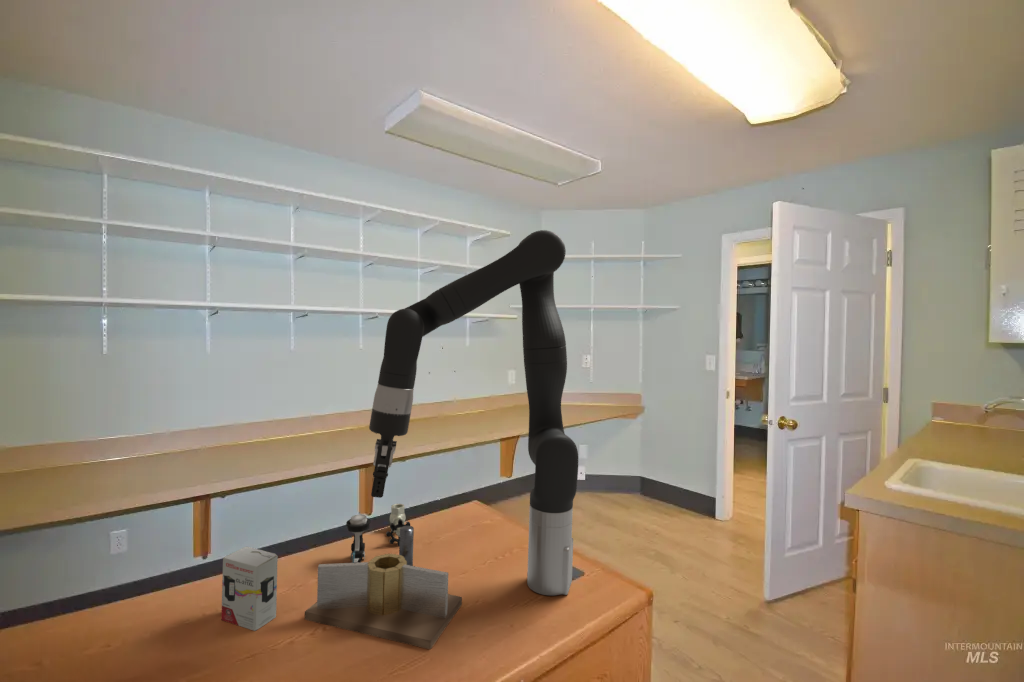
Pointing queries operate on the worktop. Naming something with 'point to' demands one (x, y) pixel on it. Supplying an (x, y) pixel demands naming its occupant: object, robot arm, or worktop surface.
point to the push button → (358, 535)
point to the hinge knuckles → (383, 586)
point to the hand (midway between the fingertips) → (378, 489)
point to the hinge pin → (406, 543)
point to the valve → (396, 522)
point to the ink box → (249, 588)
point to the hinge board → (388, 622)
